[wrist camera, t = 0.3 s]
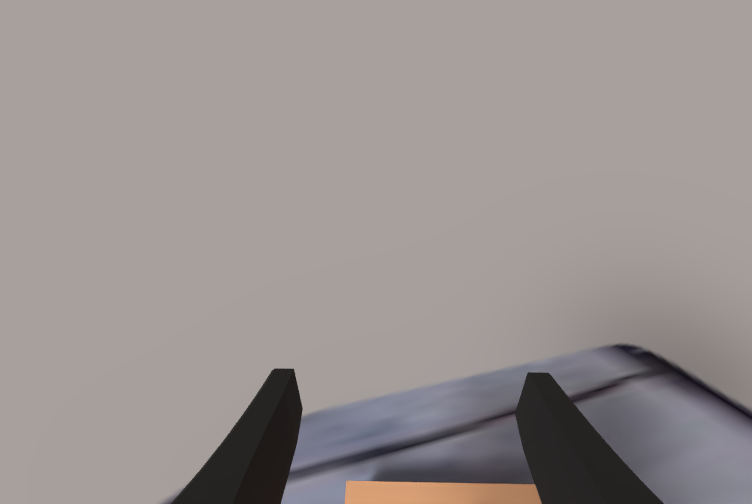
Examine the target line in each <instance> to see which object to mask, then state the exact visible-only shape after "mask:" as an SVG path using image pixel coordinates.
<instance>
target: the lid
mask: <svg viewBox="0 0 752 504" xmlns="http://www.w3.org/2000/svg"><path fill="white" fill-rule="evenodd" d="M345 504H542V503H541V500H540V497H539V494H538V491H537V488H536V485H535V484H486V483H432V482H378V481H347V482H346V495H345Z"/></svg>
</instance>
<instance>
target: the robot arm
mask: <svg viewBox="0 0 752 504" xmlns="http://www.w3.org/2000/svg"><path fill="white" fill-rule="evenodd" d="M515 414H516V419H517V424H518V428H519V433H520V437H521V442H522V446H523V450H524V453H525V456H526V459H527V462H528V465H529V468H530V471H531V474H532V477H533V480H534V483H535V485H536V488H537V491H538V494H539V497H540V500H541V503H542V504H664V503H663V502H662V501H661V500H660V499H659V498H658V497H657V496H656V495H655V494H654V493H653V492H652V491H651V490H650V489H649V488H648V487H647V486H646V485H645V484H644V483H643V482H642V481H641V480H640V479H639V478H638V477H637V476H636V475H635V474H634V472H633V471H632V470H631V469H630V468H629V467H628V466H627V465H626V464H625V463H624V462H623V461H622V460H621V458H620V457H619V456H618V455H617V454H616V453H615V452H614V451H613V450H612V448H611V447H610V446H609V445H608V444H607V443H606V442H605V440H604V439H603V438H602V437H601V436H600V435H599V433H598V432H597V431H596V430H595V429H594V428H593V427H592V425H591V424H590V423H589V422H588V421H587V419H586V418H585V417H584V416H583V415H582V413H581V412H580V411H579V410H578V408H577V407H576V406H575V405H574V404H573V402H572V401H571V400H570V399H569V397H568V396H567V395H566V394H565V392H564V391H563V390H562V389H561V387H560V386H559V385H558V384H557V382H556V381H555V380H554V379H553V377H552V376H551V375H550V374H549V373H528V374H527V377H526V380H525V383H524V387H523V390H522V393H521V396H520V400H519V403H518V406H517V409H516V413H515ZM301 416H302V404H301V400H300V395H299V390H298V386H297V381H296V377H295V372H294V369H274V370H272V371H271V373H270V375H269V376H268V378H267V379H266V381H265V383H264V384H263V386H262V387H261V389H260V390H259V392H258V393H257V395H256V396H255V398H254V399H253V401H252V402H251V404H250V405H249V406H248V408H247V409H246V411H245V412H244V414H243V415H242V416H241V418H240V419H239V420H238V422H237V423H236V425H235V426H234V427H233V429H232V430H231V431H230V433H229V434H228V435H227V437H226V438H225V439H224V441H223V442H222V443H221V445H220V446H219V447H218V448H217V450H216V451H215V452H214V453H213V455H212V456H211V457H210V459H209V460H208V461H207V462H206V463H205V465H204V466H203V467H202V468H201V470H200V471H199V472H198V473H197V474H196V475H195V477H194V478H193V479H192V480H191V481H190V483H189V484H188V485H187V486H186V487H185V488H184V489H183V490H182V492H181V493H180V494H179V495H178V496H177V497H176V498H175V499H174V501H173V502H172V503H171V504H281V500H282V497H283V493H284V489H285V486H286V482H287V478H288V475H289V471H290V467H291V464H292V460H293V456H294V452H295V449H296V445H297V440H298V434H299V428H300V422H301Z"/></svg>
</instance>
